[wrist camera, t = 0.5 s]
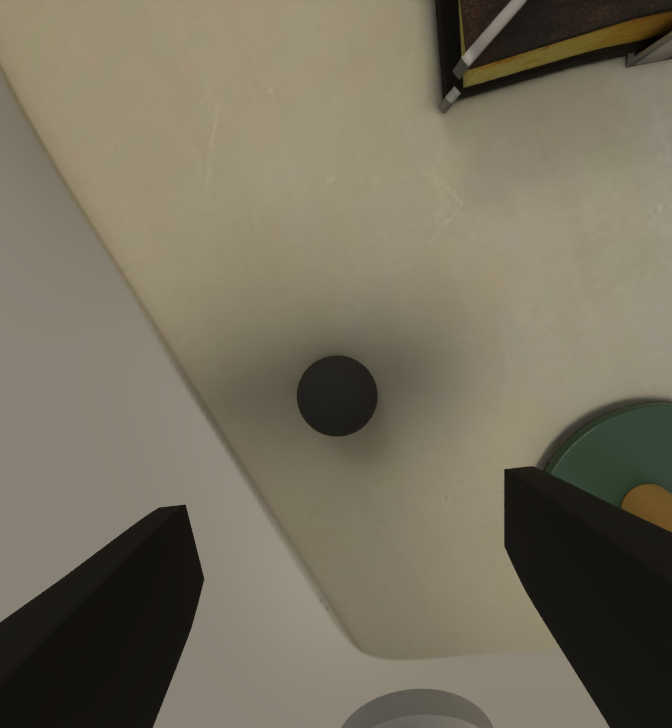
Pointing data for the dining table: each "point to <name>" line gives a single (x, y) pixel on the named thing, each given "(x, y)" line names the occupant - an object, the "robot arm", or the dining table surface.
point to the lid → (624, 460)
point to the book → (542, 38)
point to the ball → (337, 396)
